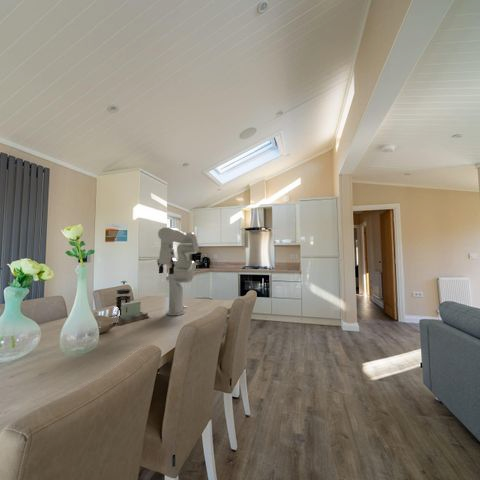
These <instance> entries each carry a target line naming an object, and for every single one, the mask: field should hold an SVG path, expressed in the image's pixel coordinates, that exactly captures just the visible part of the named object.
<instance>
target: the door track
mask: <svg viewBox="0 0 480 480" xmlns="http://www.w3.org/2000/svg"><path fill="white" fill-rule="evenodd" d="M146 319H150V316H149V313H148V312H143V311H141V310H140V314H138V315H134V316H130V317H125V318H121V316H120V317H119V319H118V322H117V323H116V324H115V325H118V326H123V325H127V324H130V323H135V322H139V321H143V320H146Z"/></svg>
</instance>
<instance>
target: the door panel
mask: <svg viewBox="0 0 480 480" xmlns="http://www.w3.org/2000/svg"><path fill="white" fill-rule="evenodd" d="M141 303H142V302H141V301H140V300H137V301H136V300H135V301H130V303H125V302H124V304H123V303H121V318H125V317H130V316H134V315H138V314H140V311H141V305H142V304H141Z"/></svg>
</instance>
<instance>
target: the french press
mask: <svg viewBox="0 0 480 480" xmlns="http://www.w3.org/2000/svg"><path fill="white" fill-rule="evenodd" d="M121 283H122V284H123V285H125V284H126V283H128V281H126V280H125V281H121ZM130 293H131V289H130V288H129V289H128V288H125V286H123V289H122V288H121V289H116V294H117V295H119V296H116V299H115V300H116V306H115V308H116V307H118V308H119V310H120V316H121V304H125V303H130V302H131V296H129V295H128V294H130ZM121 295H122V296H121Z"/></svg>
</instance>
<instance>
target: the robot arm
mask: <svg viewBox="0 0 480 480" xmlns="http://www.w3.org/2000/svg"><path fill="white" fill-rule="evenodd" d="M157 236H158V238H159V240H160V251H159V257H158V259H157V260H156V263H157V266H158V273H159V274H163V273H164V266H165V265H168V266H169V269H168V274H167V276H168V277H167V278H168V285H169V287H168V289H169V290H168V311H165V312H166V315H167V316H181V315H184V314H185V309H188V306H187V305H184V306H183V300H184V299H183V298H184V297H183V296H184V295H183V294H184V293H183V292H184V288H183V286H182V284H181V283H187V284H189V283H191V282H192V281H193V279H194V276H195V273H196V269H197V268H196V267H197V263H196V262H195V261H194V260H190V259H189V256H188V255H187V254H189V255H193V254H194V255H195V254H198V252H199V244H198V239H197V236H196V234H195V233H194V232H183V231H181V230H179V229H178V228H172V227H167V226H166V227H162V228H159V230H158V232H157ZM174 243H179V244H178V245H177V247H176V254H177V260H176V255H175V250H174Z"/></svg>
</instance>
